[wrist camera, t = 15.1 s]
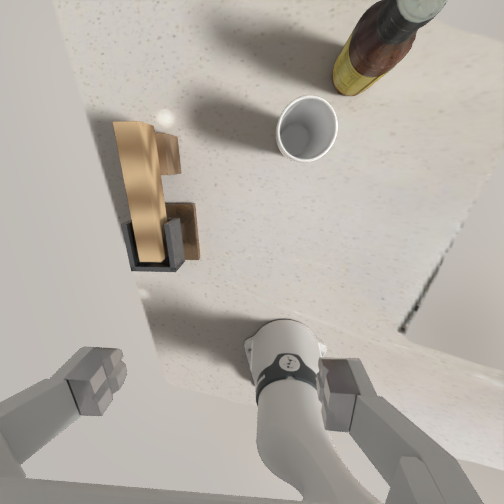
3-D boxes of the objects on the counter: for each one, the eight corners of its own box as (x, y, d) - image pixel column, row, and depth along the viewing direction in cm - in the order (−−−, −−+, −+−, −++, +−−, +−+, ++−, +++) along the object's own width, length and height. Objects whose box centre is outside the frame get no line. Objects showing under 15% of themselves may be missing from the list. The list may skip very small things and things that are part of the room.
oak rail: (131, 126, 36) (112, 121, 31) (153, 125, 35) (138, 121, 31) (152, 251, 43) (139, 261, 38) (171, 252, 42) (160, 262, 38)
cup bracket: (200, 257, 49) (183, 280, 40) (153, 256, 50) (126, 279, 40) (195, 203, 45) (175, 214, 36) (144, 203, 46) (111, 214, 36)
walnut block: (181, 173, 43) (168, 175, 38) (149, 173, 44) (131, 175, 38) (177, 136, 41) (162, 132, 36) (143, 137, 42) (124, 133, 36)
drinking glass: (271, 160, 41) (272, 159, 27) (276, 115, 39) (281, 90, 25) (310, 164, 41) (331, 166, 27) (318, 120, 39) (345, 97, 25)
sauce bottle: (371, 44, 35) (488, -88, 16) (372, 93, 37) (475, 25, 18) (326, 55, 36) (387, -59, 17) (329, 103, 38) (386, 46, 19)
